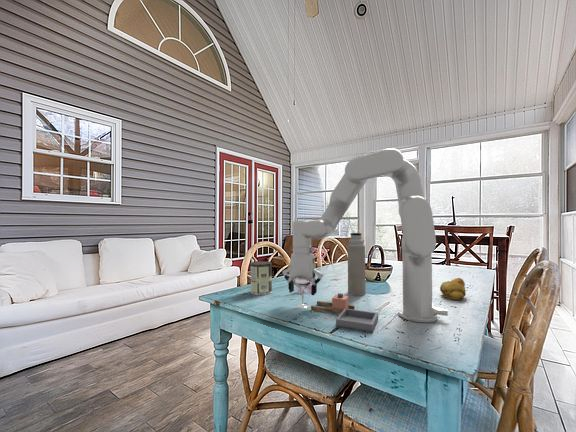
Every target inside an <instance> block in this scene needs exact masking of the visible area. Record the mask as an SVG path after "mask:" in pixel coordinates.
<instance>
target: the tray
mask: <svg viewBox="0 0 576 432" xmlns="http://www.w3.org/2000/svg"><path fill="white" fill-rule="evenodd" d="M378 322H379V312H374V311H365V310H359V309H354V310H353V309H344V310H343V311H342V312H341V314H338V316H337V317H336V318H335V326H336V328H339V329H346V330H352V331H358V332H366V333H372V334H373V333H374V331H375V329H376V326H377V324H378Z"/></svg>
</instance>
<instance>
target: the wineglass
mask: <svg viewBox="0 0 576 432" xmlns="http://www.w3.org/2000/svg"><path fill="white" fill-rule="evenodd" d="M293 280H294V283H295V285H294V286H295V287H297V289H298V288H300V289H301V290H302V292H301V302H302V303H299V304H296V307H297V308H301V309H303V308H309V306H310V305H309V304H307V303H304V292H305V291H304V290H305V288H307V287H308V286H309V285H310V283H311V281H310V280H306V277H305V278H300V277H295V279H293Z"/></svg>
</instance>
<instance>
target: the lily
mask: <svg viewBox="0 0 576 432" xmlns="http://www.w3.org/2000/svg"><path fill="white" fill-rule="evenodd" d="M293 281H294V279H293ZM311 285H312V283H310V285H309V286H308V287H307V288H305V289H304V290H305V291H307V292H308V293H310V294H311ZM294 286H296V285H295V283H294ZM297 291H298V295H299V294H302V290H301V289H300V288H298V287H297Z"/></svg>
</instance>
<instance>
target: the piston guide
mask: <svg viewBox="0 0 576 432" xmlns="http://www.w3.org/2000/svg"><path fill="white" fill-rule="evenodd" d="M355 308H356V306H355V304H354V305H353V304H349V309H353V310H356V309H355ZM310 310H311V313H312V314H314V313H315V312H321V313H322V312H323V313H327V314H335V315H340V314H341V312H342V311H343V310H342V309H334V308H332V301H331V302H330V301H323V300H317V301H316V305H311V306H310Z"/></svg>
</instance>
